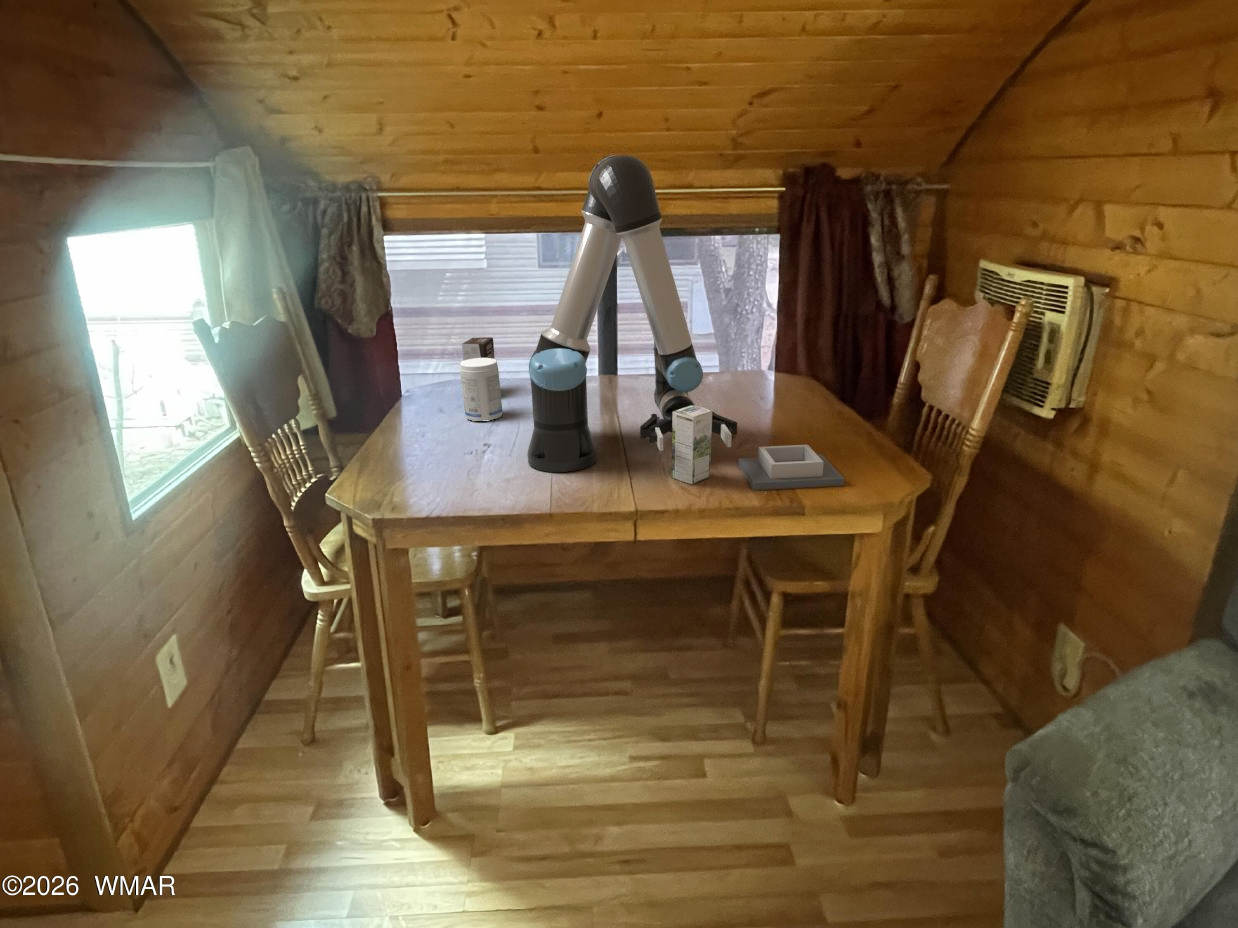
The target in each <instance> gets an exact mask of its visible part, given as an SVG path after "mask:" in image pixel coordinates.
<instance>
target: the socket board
mask: <svg viewBox="0 0 1238 928" xmlns="http://www.w3.org/2000/svg"><path fill="white" fill-rule="evenodd" d="M757 452H758V454H757V457H740V458H739V457H738V459H737V460H738V461H737V466H738V467H739V469H740V470H741V472H742V474H743V475H744V477H745V479H746V480H747V482H748V484H749V485H750V487H751V488H752V490H753V491H763V490H765V491H766V490H781V489H782V490H783V489H802V488H821V487H840V486H841V487H842V486H843V485H844V486H845V477H844V476H842V474H841V473H840V472H839V471H838V470H837V469H836V468H835V467H834V466H833V465H832V464H831V462H830V461H828V460H827V458H826V457H825V456H824V455H823V454H820V453H819V454H818V453H817V452H815V451H814V450H813V448H811V446H809V444H796V445H793V444H791V445H774V446H773V445H771V446H770V445H769V446H758V451H757Z"/></svg>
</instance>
